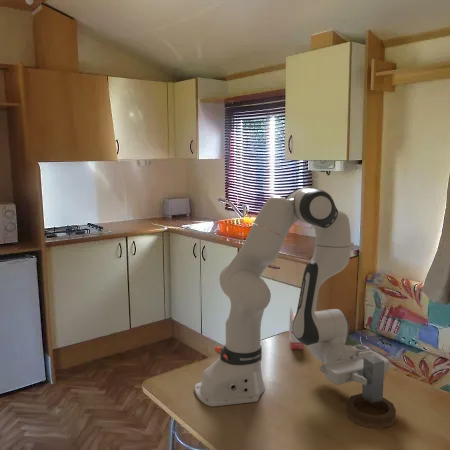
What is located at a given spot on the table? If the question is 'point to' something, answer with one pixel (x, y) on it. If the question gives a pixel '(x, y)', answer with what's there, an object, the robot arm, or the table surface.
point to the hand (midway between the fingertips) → (375, 380)
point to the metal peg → (373, 379)
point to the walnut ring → (370, 420)
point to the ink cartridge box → (292, 339)
